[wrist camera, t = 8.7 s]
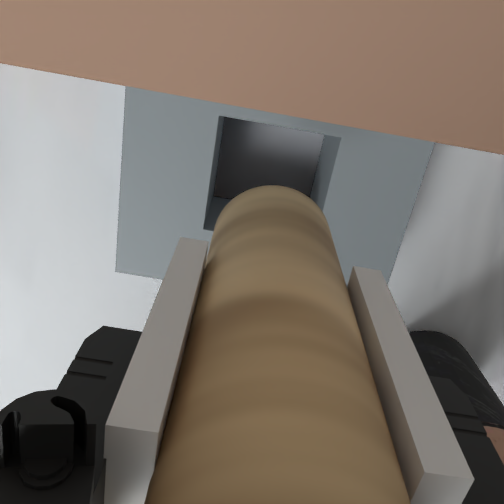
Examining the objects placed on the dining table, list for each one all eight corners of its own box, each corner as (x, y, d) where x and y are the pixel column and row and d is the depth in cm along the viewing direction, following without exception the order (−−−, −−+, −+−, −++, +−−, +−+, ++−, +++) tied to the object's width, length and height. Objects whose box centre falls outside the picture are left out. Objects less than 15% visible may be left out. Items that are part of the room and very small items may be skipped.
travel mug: (450, 308, 31) (699, 698, 13) (490, 388, 34) (743, 802, 16) (343, 356, 33) (435, 754, 15) (389, 428, 36) (514, 839, 18)
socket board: (360, 271, 30) (377, 314, 26) (138, 233, 30) (115, 271, 25) (478, -116, 22) (534, -153, 17) (169, -181, 21) (143, -236, 17)
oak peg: (315, 300, 17) (437, 1024, 5) (206, 281, 17) (39, 987, 5) (343, 197, 16) (644, 905, 3) (222, 175, 16) (28, 839, 3)
